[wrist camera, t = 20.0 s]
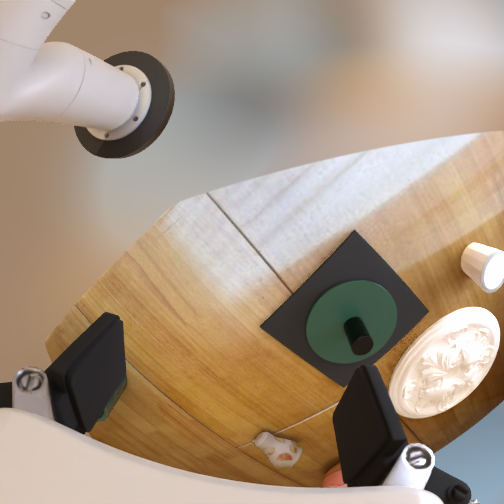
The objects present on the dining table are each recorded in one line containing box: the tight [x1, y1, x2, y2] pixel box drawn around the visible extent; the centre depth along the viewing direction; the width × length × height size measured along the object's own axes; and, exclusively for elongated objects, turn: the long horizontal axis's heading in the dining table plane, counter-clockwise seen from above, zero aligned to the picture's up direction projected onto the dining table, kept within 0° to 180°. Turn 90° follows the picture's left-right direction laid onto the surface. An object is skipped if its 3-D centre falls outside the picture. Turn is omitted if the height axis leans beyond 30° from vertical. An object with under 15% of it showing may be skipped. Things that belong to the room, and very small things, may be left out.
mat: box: [260, 230, 429, 387], centre depth 42 cm, size 20×20×1 cm
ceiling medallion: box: [388, 307, 500, 418], centre depth 43 cm, size 28×28×3 cm
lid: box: [306, 280, 397, 364], centre depth 39 cm, size 15×15×7 cm
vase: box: [322, 462, 347, 488], centre depth 46 cm, size 14×14×18 cm
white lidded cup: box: [461, 243, 504, 293], centre depth 35 cm, size 7×7×7 cm
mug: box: [252, 432, 303, 470], centre depth 49 cm, size 8×10×10 cm
